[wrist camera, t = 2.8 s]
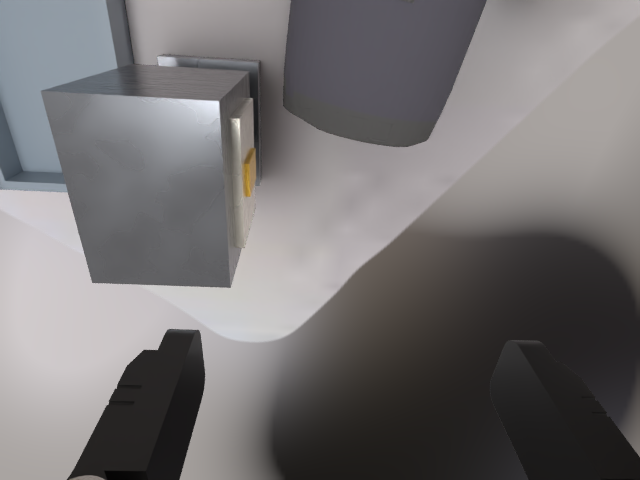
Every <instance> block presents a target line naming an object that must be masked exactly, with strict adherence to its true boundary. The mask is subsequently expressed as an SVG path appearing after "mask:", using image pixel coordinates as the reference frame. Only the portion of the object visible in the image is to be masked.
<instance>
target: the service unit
mask: <svg viewBox="0 0 640 480" xmlns="http://www.w3.org/2000/svg"><path fill="white" fill-rule="evenodd" d="M157 59H158V66H157V65H140V64H129V65H126V66H123V67H119V68H116V69H113V70H109V71H106V72H103V73H99V74H96V75H92V76H89V77H86V78H82V79H79V80H76V81H72V82H69V83H65V84H62V85H59V86H55V87H52V88H49V89H45V90H42V91H41V95H42V99H43V102H44V106H45V110H46V113H47V117H48V121H49V124H50V128H51V132H52V136H53V139H54V143H55V147H56V150H57V154H58V158H59V161H60V165H61V169H62V172H63V176H64V180H65V184H66V187H67V191H68V195H69V198H70V202H71V206H72V209H73V213H74V217H75V220H76V224H77V228H78V231H79V235H80V239H81V243H82V246H83V250H84V254H85V257H86V261H87V265H88V268H89V272H90V276H91V279H92V283H112V284H141V285H170V286H199V287H227V288H231V284H232V281H233V277H234V274H235V270H236V267H237V263H238V260H239V256H240V253H241V249H242V248H245V244H246V241H247V237H248V233H249V230H250V226H251V223H252V219H253V215H254V212H255V186H260V183H261V112H260V61H259V60H244V59H228V58H212V57H196V56H180V55H165V54H163V55H160V56H157Z"/></svg>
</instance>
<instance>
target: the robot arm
mask: <svg viewBox="0 0 640 480" xmlns="http://www.w3.org/2000/svg"><path fill="white" fill-rule="evenodd" d="M204 384H205V369H204V360H203V351H202V343H201V335H200V332H199V330H179V329H169V330H167V332H166V333H165V335H164V337H163V340H162V342H161V344H160V346H159V349H158V350H143V351H142V352H141V353H140V354H139V355H138V356H137V357H136V358H135V359H134V360H133V361H132V362H131V363H130V364H129V365H127V367H126V369H125V371H124V373H123V375H122V377H121V379H120V381H119V383H118V385H117V389H115V390H114V392H113V394H112V396H111V398H110V400H109V405H107V406H106V408H105V410H104V412H103V414H102V416H101V418H100V420H99V422H98V423H97V425H96V427H95V429H94V431H93V433H92V435H91V437H90V439H89V441H88V443H87V445H86V447H85V449H84V451H83V453H82V455H81V457H80V459H79V460H78V462H77V464H76V466H75V468H74V470H73V472H72V473H71V475H70V476H69V477H68V479H67V480H179V479H180V476H181V472H182V468H183V465H184V461H185V457H186V453H187V450H188V446H189V443H190V439H191V436H192V432H193V429H194V425H195V421H196V418H197V414H198V411H199V407H200V403H201V400H202V396H203V391H204ZM490 393H491V399H492V402H493V405H494V407H495V409H496V411H497V413H498V416H499V418H500V420H501V422H502V424H503V426H504V428H505V430H506V432H507V435H508V437H509V439H510V441H511V443H512V445H513V447H514V449H515V452H516V454H517V456H518V458H519V460H520V463H521V465H522V467H523V469H524V471H525V473H526V475H527V477H528V480H640V457H639V456H638V454H637V453H636V452H635V450H634V449H633V448H632V446H631V445H630V444H629V442H628V441H627V440H626V438H625V437H624V435H623V434H622V433H621V431H620V430H619V429H618V427H617V426H616V425H615V423H614V422H613V421H612V419H611V418H610V417H607V415H606V411H605V410H604V408H603V407H602V406H601V404H600V403H599V402H598V401H596V400H595V396H594V395H593V394H592V392H591V391H590V390H589V388H588V387H587V385H586V384H585V383H584V382H583V380H582V379H581V378H580V377H579V376H578V375H577V374H575V373H574V372H573V371H572V370H570V369H569V368H568V367H567V366H566V365H564V364H563V363H562V362H556V361H555V360H554V358H553V357H552V355H551V354H550V353H549V351H548V350H547V348H546V347H545V346H544V344H542V343H541V342H539V341H520V340H519V341H518V340H510V341H507V342H506V344H505V346H504V348H503V350H502V353H501V356H500V358H499V361H498V363H497V366H496V368H495V371H494V374H493V376H492V378H491V382H490Z"/></svg>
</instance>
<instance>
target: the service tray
mask: <svg viewBox="0 0 640 480" xmlns="http://www.w3.org/2000/svg"><path fill="white" fill-rule="evenodd" d="M129 64H134V59H133V53H132V46H131V40H130V34H129V27H128V21H127V14H126V8H125V2H124V0H0V189H4V190H26V191H48V192H68V191H67V187H66V184H65V180H64V176H63V172H62V169H61V165H60V161H59V158H58V154H57V150H56V147H55V143H54V139H53V136H52V132H51V128H50V124H49V121H48V117H47V113H46V110H45V106H44V102H43V99H42V95H41V91H42V90H45V89H49V88H52V87H55V86H59V85H62V84H65V83H69V82H72V81H76V80H79V79H82V78H86V77H89V76H92V75H96V74H99V73H103V72H106V71H109V70H113V69H116V68H119V67H123V66H126V65H129Z"/></svg>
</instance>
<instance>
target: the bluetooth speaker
mask: <svg viewBox="0 0 640 480" xmlns="http://www.w3.org/2000/svg"><path fill="white" fill-rule="evenodd" d="M486 1H487V0H291V6H290V15H289V24H288V33H287V43H286V54H285V66H284V86H283V106H284V107H285V108H286V109H287V110H288V111H289V112H291V113H292V114H294V115H296V116H298V117H299V118H301V119H303V120H304V121H306V122H307V123H309V124H311V125H312V126H314V127H316V128H317V129H319V130H322V131H325V132H327V133H330V134H334V135H337V136H340V137H344V138H348V139H352V140H357V141H361V142H366V143H371V144H377V145H384V146H393V147H408V146H412V145H415V144H418V143H422V142H425V141H426V140H428V138H429V136H430V134H431V132H432V130H433V128H434V126H435V124H436V122H437V121H438V119H439V117H440V115H441V113H442V110H443V108H444V106H445V104H446V101H447V99H448V97H449V95H450V92H451V90H452V88H453V85H454V82H455V80H456V77H457V75H458V72H459V70H460V67H461V65H462V62H463V60H464V57H465V54H466V52H467V49H468V47H469V44H470V42H471V39H472V37H473V34H474V32H475V29H476V26H477V24H478V21H479V19H480V16H481V14H482V11H483V9H484V6H485V3H486Z"/></svg>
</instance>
